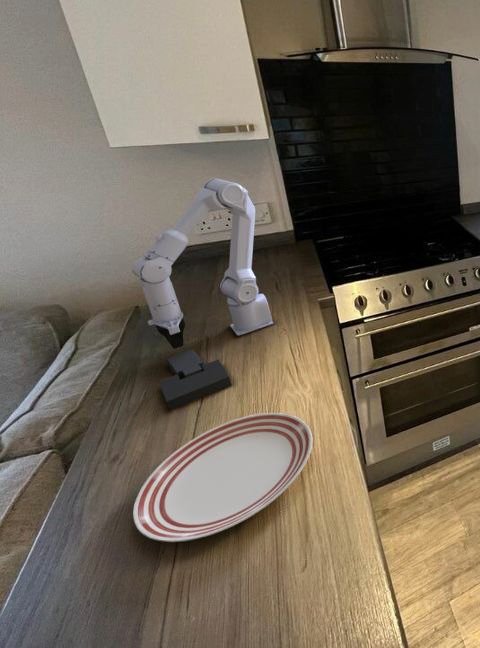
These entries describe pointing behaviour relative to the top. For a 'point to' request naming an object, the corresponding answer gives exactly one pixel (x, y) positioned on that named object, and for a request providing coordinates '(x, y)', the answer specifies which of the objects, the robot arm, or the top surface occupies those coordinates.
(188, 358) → the tongue pad
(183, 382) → the notch pad
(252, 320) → the robot arm
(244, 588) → the top surface
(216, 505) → the dinner plate
